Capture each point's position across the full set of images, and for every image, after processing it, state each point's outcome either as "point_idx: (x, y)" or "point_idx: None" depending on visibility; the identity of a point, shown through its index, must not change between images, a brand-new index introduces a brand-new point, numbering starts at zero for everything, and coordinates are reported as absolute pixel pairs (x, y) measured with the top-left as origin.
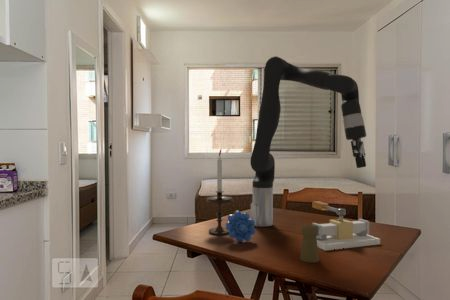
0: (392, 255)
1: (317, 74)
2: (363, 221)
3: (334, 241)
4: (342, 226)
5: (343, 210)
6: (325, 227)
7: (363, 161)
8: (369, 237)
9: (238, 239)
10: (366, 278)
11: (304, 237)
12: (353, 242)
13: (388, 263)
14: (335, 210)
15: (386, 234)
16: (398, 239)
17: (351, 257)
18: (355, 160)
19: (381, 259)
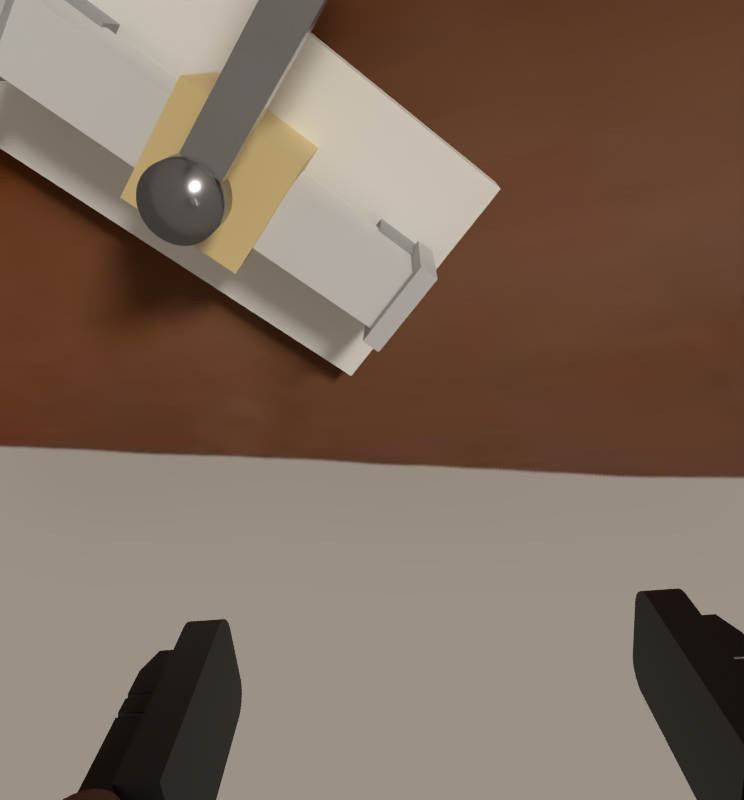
0: (197, 436)
1: None
2: (385, 309)
3: (98, 161)
4: None
5: (158, 233)
6: (36, 97)
7: (683, 744)
8: (344, 321)
9: None
10: None
11: None
12: (183, 264)
13: (72, 438)
14: (190, 136)
15: (607, 354)
16: (515, 422)
17: (16, 292)
18: (130, 738)
19: (101, 408)
